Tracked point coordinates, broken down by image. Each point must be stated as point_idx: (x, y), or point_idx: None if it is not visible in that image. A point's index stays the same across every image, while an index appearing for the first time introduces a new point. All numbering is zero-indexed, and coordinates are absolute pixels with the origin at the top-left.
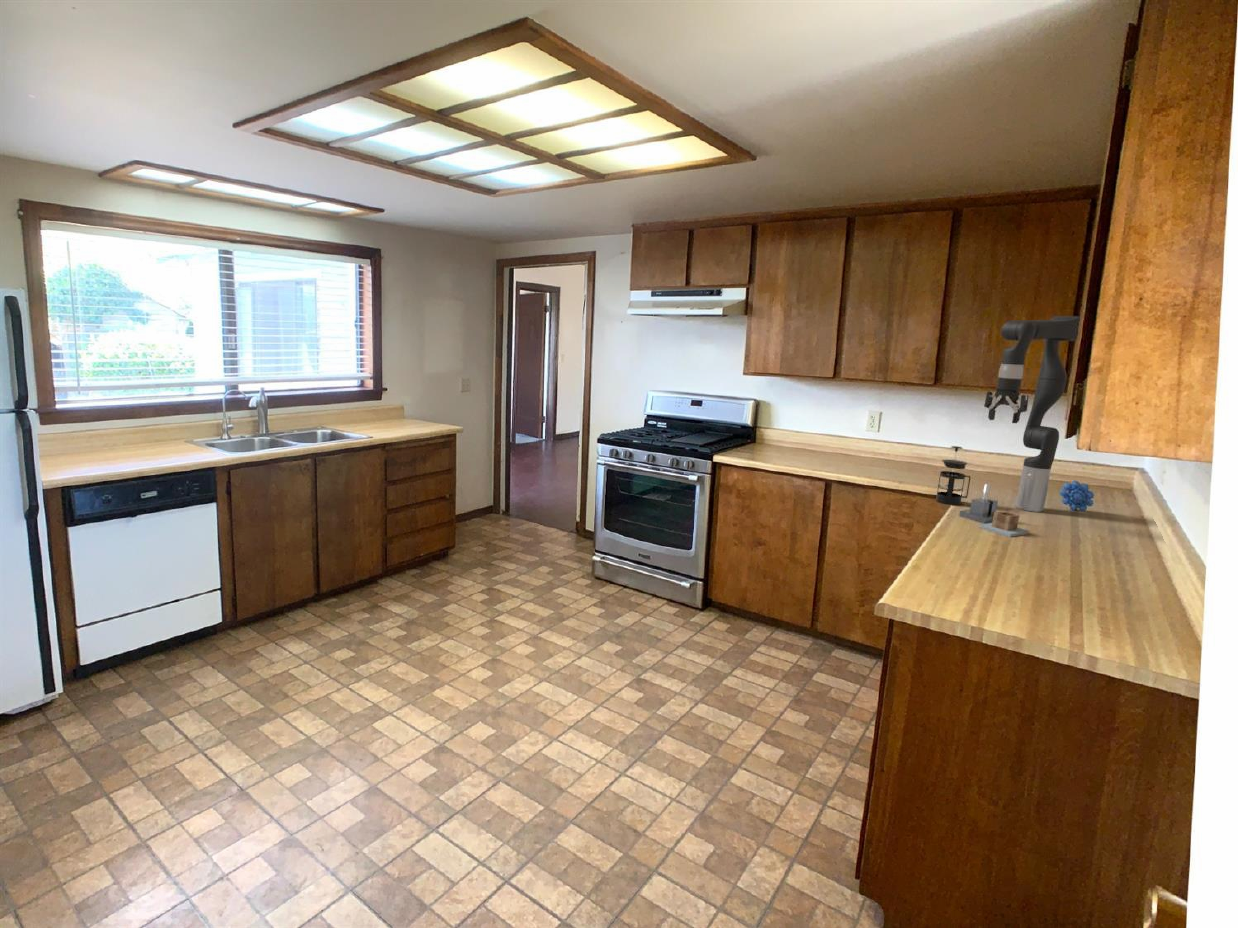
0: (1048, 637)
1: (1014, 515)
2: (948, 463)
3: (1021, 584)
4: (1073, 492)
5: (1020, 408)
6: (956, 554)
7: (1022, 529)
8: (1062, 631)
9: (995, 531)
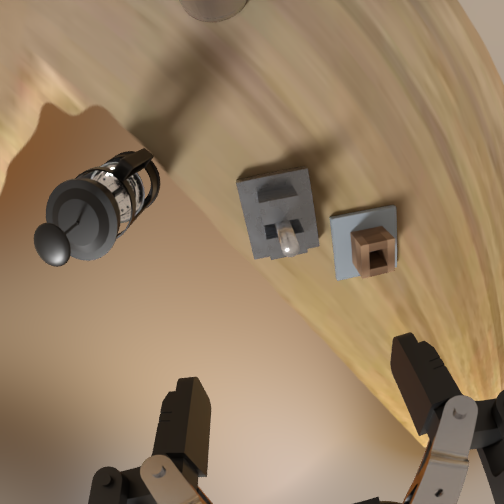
0: (493, 397)
1: (392, 251)
2: (96, 253)
3: (469, 370)
4: None
5: (483, 452)
6: None
7: (386, 214)
8: (498, 387)
9: None
